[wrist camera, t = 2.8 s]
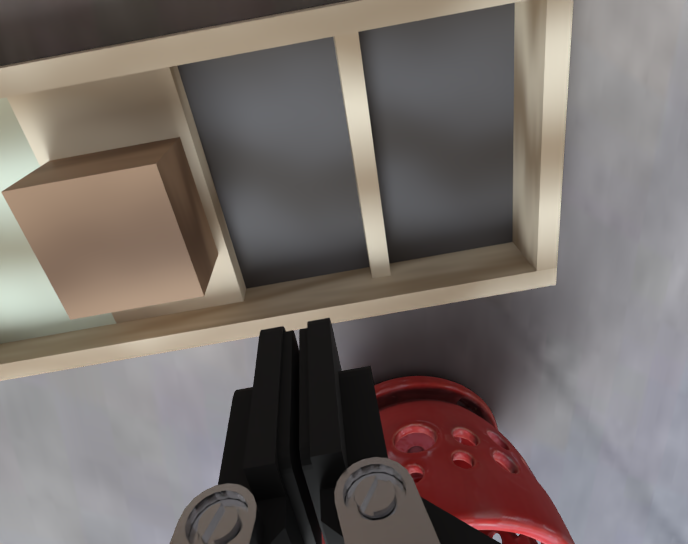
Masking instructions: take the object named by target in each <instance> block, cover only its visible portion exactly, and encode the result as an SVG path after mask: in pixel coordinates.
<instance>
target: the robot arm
mask: <svg viewBox="0 0 688 544" xmlns="http://www.w3.org/2000/svg"><path fill="white" fill-rule="evenodd" d="M322 535H323V538H324V541H325V544H501V543H499V542H497V541H496V540H494V539H492V538H491V537H489V536H487V535H485V534H484V533H482V532H480V531H479V530H477V529H475V528H474V527H472V526H470V525H468V524H467V523H465V522H463V521H462V520H460V519H458V518H456V517H455V516H453V515H451V514H450V513H448V512H446V511H445V510H443V509H441V508H439V507H438V506H436V505H434V504H433V503H431V502H429V501H427V500H426V499H424V498H422V497H421V496H420V495H419V492H418V490H417V487H416V485H415V483H414V480H413V478H412V477H411V475H410V474H409V472H408V470H407V469H406V468H405V467H403V466H402V465H401V464H399V463H398V462H396V461H393V460H391V459H388V454H387V449H386V444H385V439H384V434H383V429H382V423H381V418H380V413H379V408H378V403H377V398H376V392H375V387H374V382H373V377H372V372H371V367H370V366H367V367H362V368H356V369H351V370H345V371H342V370H341V365H340V361H339V356H338V351H337V347H336V342H335V338H334V333H333V328H332V324H331V320H330V318H324V319H319V320H313V321H308V322H307V328H303V329H300V331H299V348H298V345H297V341H296V337H295V334H294V331H293V330H292V331H286V330H285V328H284V326H280V327H275V328H269V329H264V330H261V331H260V335H259V343H258V351H257V359H256V368H255V376H254V384H253V387H251V388H245V389H240V390H236V391H235V392H234V396H233V400H232V406H231V412H230V418H229V423H228V429H227V435H226V441H225V447H224V453H223V459H222V464H221V470H220V476H219V482H218V485H216V486H214V487H212V488H209V489H207V490H205V491H203V492H202V493H201V494H199V495H198V496H197V497H195V498H194V499H193V500H192V501H191V502H190V503H189V505H188V506H187V507H186V508H185V509H184V511H183V513H182V515H181V517H180V519H179V521H178V523H177V526H176V528H175V531H174V534H173V536H172V539H171V541H170V544H322Z"/></svg>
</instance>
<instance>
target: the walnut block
mask: <svg viewBox="0 0 688 544" xmlns="http://www.w3.org/2000/svg"><path fill="white" fill-rule="evenodd" d="M1 193H2V195H3V196H4V198H5V200H6V202H7V204H8V206H9V207H10V209H11V211H12V213H13V215H14V217H15V219H16V220H17V222H18V224H19V226H20V228H21V230H22V231H23V233H24V235H25V237H26V239H27V241H28V243H29V244H30V246H31V248H32V250H33V252H34V254H35V255H36V257H37V259H38V261H39V263H40V265H41V267H42V268H43V270H44V272H45V274H46V276H47V278H48V279H49V281H50V283H51V285H52V287H53V289H54V291H55V292H56V294H57V296H58V298H59V300H60V302H61V303H62V305H63V307H64V309H65V311H66V313H67V315H68V316H69V318H70V320H72V319H78V318H83V317H89V316H95V315H100V314H106V313H112V312H117V311H123V310H129V309H135V308H140V307H146V306H152V305H157V304H163V303H169V302H175V301H180V300H186V299H192V298H197V297H203V296H204V295H205V292H206V289H207V286H208V284H209V281H210V278H211V275H212V272H213V269H214V266H215V263H216V260H217V257H218V251H217V248H216V245H215V242H214V239H213V236H212V233H211V230H210V227H209V224H208V221H207V218H206V215H205V212H204V209H203V206H202V203H201V200H200V197H199V194H198V190H197V187H196V184H195V181H194V178H193V175H192V172H191V169H190V166H189V163H188V160H187V157H186V154H185V151H184V148H183V145H182V142H181V139H180V137H176V138H171V139H165V140H160V141H154V142H149V143H144V144H138V145H133V146H127V147H122V148H116V149H111V150H105V151H100V152H94V153H89V154H83V155H78V156H73V157H67V158H62V159H56V160H51V161H48V162H47V163H45V164H43V165H42V166H40V167H39V168H37V169H36V170H34V171H33V172H31V173H30V174H28V175H26V176H25V177H23V178H22V179H20V180H19V181H17V182H16V183H14V184H13V185H11V186H9V187H8V188H6V189H5V190H3V191H2V192H1Z"/></svg>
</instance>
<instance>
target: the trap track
mask: <svg viewBox="0 0 688 544" xmlns="http://www.w3.org/2000/svg"><path fill="white" fill-rule="evenodd" d="M572 15H573V0H349V1H344V2H338V3H333V4H328V5H322V6H317V7H312V8H306V9H301V10H296V11H290V12H285V13H280V14H274V15H269V16H264V17H258V18H253V19H248V20H243V21H237V22H232V23H227V24H221V25H216V26H211V27H205V28H200V29H195V30H189V31H184V32H179V33H173V34H168V35H163V36H157V37H152V38H147V39H142V40H136V41H131V42H126V43H120V44H115V45H110V46H104V47H99V48H94V49H88V50H83V51H78V52H72V53H67V54H62V55H57V56H51V57H46V58H41V59H35V60H30V61H25V62H19V63H14V64H9V65H3V66H0V381H3V380H8V379H14V378H20V377H26V376H31V375H37V374H43V373H49V372H55V371H60V370H66V369H72V368H78V367H84V366H89V365H95V364H101V363H107V362H112V361H118V360H124V359H130V358H136V357H141V356H147V355H153V354H159V353H164V352H170V351H176V350H182V349H188V348H193V347H199V346H205V345H211V344H217V343H222V342H228V341H234V340H240V339H245V338H251V337H257V336H259V335H260V331H261V330H264V329H269V328H275V327H280V326H284V328H285V330H286V331H292V330H297V329H303V328H307V322H308V321H313V320H319V319H324V318H330V320H331V324H332V323H338V322H344V321H350V320H355V319H361V318H367V317H373V316H378V315H384V314H390V313H396V312H402V311H407V310H413V309H419V308H425V307H430V306H436V305H442V304H448V303H454V302H459V301H465V300H471V299H477V298H483V297H488V296H494V295H500V294H506V293H511V292H517V291H523V290H529V289H535V288H540V287H546V286H552V285H556V274H557V258H558V242H559V226H560V209H561V193H562V177H563V161H564V145H565V128H566V112H567V96H568V80H569V63H570V47H571V31H572ZM176 137H180V139H181V142H182V145H183V148H184V151H185V154H186V157H187V160H188V163H189V166H190V169H191V172H192V175H193V178H194V181H195V184H196V187H197V190H198V194H199V197H200V200H201V203H202V206H203V209H204V212H205V215H206V218H207V221H208V224H209V227H210V230H211V233H212V236H213V239H214V242H215V245H216V248H217V251H218V257H217V260H216V263H215V266H214V269H213V272H212V275H211V278H210V281H209V284H208V286H207V289H206V292H205V295H204V296H203V297H197V298H192V299H186V300H180V301H175V302H169V303H163V304H157V305H152V306H146V307H140V308H135V309H129V310H123V311H117V312H112V313H106V314H100V315H95V316H89V317H83V318H78V319H72V320H70V318H69V316H68V315H67V313H66V311H65V309H64V307H63V305H62V303H61V302H60V300H59V298H58V296H57V294H56V292H55V291H54V289H53V287H52V285H51V283H50V281H49V279H48V278H47V276H46V274H45V272H44V270H43V268H42V267H41V265H40V263H39V261H38V259H37V257H36V255H35V254H34V252H33V250H32V248H31V246H30V244H29V243H28V241H27V239H26V237H25V235H24V233H23V231H22V230H21V228H20V226H19V224H18V222H17V220H16V219H15V217H14V215H13V213H12V211H11V209H10V207H9V206H8V204H7V202H6V200H5V198H4V196H3V195H2V193H1V192H2V191H3V190H5V189H6V188H8V187H9V186H11V185H13V184H14V183H16V182H17V181H19V180H20V179H22V178H23V177H25V176H26V175H28V174H30V173H31V172H33V171H34V170H36V169H37V168H39V167H40V166H42V165H43V164H45V163H47V162H48V161H51V160H56V159H62V158H67V157H73V156H78V155H83V154H89V153H94V152H100V151H105V150H111V149H116V148H122V147H127V146H133V145H138V144H144V143H149V142H154V141H160V140H165V139H171V138H176Z"/></svg>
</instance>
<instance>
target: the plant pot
mask: <svg viewBox="0 0 688 544" xmlns="http://www.w3.org/2000/svg"><path fill="white" fill-rule="evenodd" d="M374 387H375V392H376V398H377V403H378V408H379V413H380V418H381V423H382V429H383V434H384V439H385V444H386V449H387V454H388V459H391V460H393V461H396V462H398V463H399V464H401V465H402V466H403V467H405V468H406V469H407V470H408V472H409V474H410V475H411V477H412V478H413V480H414V483H415V485H416V487H417V490H418V492H419V495H420V496H421V497H422V498H424V499H426V500H427V501H429V502H431V503H433V504H434V505H436V506H438V507H439V508H441V509H443V510H445V511H446V512H448V513H450V514H451V515H453V516H455V517H456V518H458V519H460V520H462V521H463V522H465V523H467V524H468V525H470V526H472V527H474V528H475V529H477V530H479V531H480V532H482V533H484V534H485V535H487V536H489V537H491V538H493V535H494V534H495V533H498V534H500V536H501V539H502V544H538V543H537V541H536V540H538V541H540V542H541V544H575V543H574V541H573V539H572V538H571V536H570V534H569V531H568V529H567V528H566V526H565V524H564V522H563V520H562V518H561V516H560V514H559V513H558V511H557V509H556V507H555V505H554V504H553V502H552V500H551V499H550V497H549V496H548V494H547V493H546V491H545V490H544V489H543V488H542V486H541V485H540V484H539V483H538V481H537V480H536V478H535V476H534V475H533V473H532V471H531V470H530V468H529V466H528V465H527V463H526V462H525V460H524V459H523V457H522V456H521V455H520V453H519V452H518V451H517V450H516V449H515V447H514V446H513V445H512V444H511V443H510V442H509V441H508V440H507V439H506V438H505V437H504V436H503V435H502V434H501V433H500V432H499V431H498V428H497V424H496V421H495V418H494V416H493V414H492V412H491V410H490V409H489V407H488V406H487V404H486V403H485V402H484V401H483V400H482V399H481V398H480V397H479V396H478V395H477V394H475V393H474V392H472V391H471V390H470V389H468V388H466V387H464V386H462V385H460V384H458V383H456V382H452V381H449V380H446V379H442V378H437V377H431V376H408V377H400V378H395V379H391V380H388V381H384V382H382V383H379V384H376V385H374ZM516 533H518V534H520V535H519V536H517V535H516ZM322 544H325V541H324V538H323V535H322Z"/></svg>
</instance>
